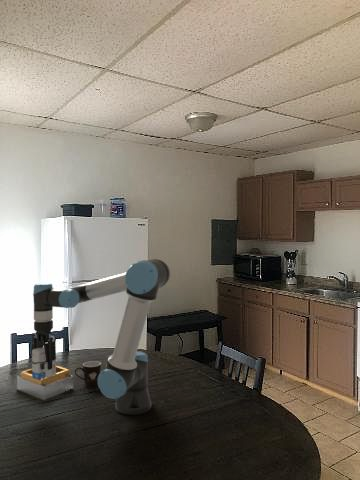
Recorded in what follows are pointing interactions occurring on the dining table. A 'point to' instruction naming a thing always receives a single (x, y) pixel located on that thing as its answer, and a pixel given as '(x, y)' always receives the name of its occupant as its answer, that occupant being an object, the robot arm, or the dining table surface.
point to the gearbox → (45, 383)
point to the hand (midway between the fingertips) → (44, 375)
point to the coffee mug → (90, 373)
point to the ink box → (40, 364)
